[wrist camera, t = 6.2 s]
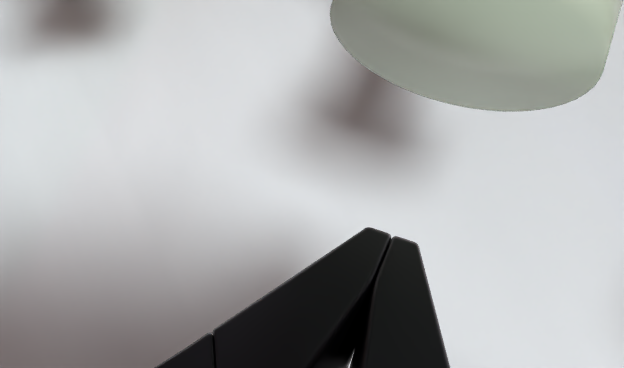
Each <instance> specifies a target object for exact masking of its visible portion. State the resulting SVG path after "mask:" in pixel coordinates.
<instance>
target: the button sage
mask: <svg viewBox="0 0 624 368" xmlns="http://www.w3.org/2000/svg"><path fill="white" fill-rule="evenodd" d="M622 2H623V0H333V2H332V4H331V9H330V20H331V25H332V28H333V30H334V33H335V35H336V36H337V38H338V40H339V41H340V43H341V44H342V45H343V47H344V48H345V49H346V50H347V51H348V52H349V53H350V54H351V55H352V56H353V57H354V58H355V59H356V60H357V61H358V62H360V63H361V64H362V65H363V66H365V67H366V68H368V69H369V70H370V71H372V72H373V73H375V74H377V75H378V76H380V77H382V78H383V79H385V80H387V81H389V82H391V83H393V84H395V85H397V86H399V87H401V88H403V89H406V90H408V91H411V92H413V93H416V94H418V95H421V96H424V97H427V98H430V99H433V100H437V101H440V102H444V103H448V104H452V105H457V106H462V107H467V108H473V109H481V110H491V111H512V112H513V111H531V110H540V109H546V108H551V107H555V106H559V105H562V104H566V103H568V102H570V101H573V100H575V99H577V98H579V97H581V96H582V95H584V94H586V93H587V92H588V91H589V90H591V89H592V88H593V87H594V86H595V85H596V83H597V82H598V81H599V79H600V77H601V75H602V72H603V70H604V66H605V63H606V59H607V56H608V52H609V49H610V45H611V41H612V38H613V34H614V31H615V27H616V24H617V20H618V16H619V13H620V9H621V6H622Z"/></svg>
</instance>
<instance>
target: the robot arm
mask: <svg viewBox="0 0 624 368" xmlns="http://www.w3.org/2000/svg"><path fill="white" fill-rule="evenodd" d="M353 353H354V354H353ZM352 356H353V358H352ZM351 358H352V361H351ZM350 361H351V365H350V368H450V366H449V362H448V358H447V354H446V350H445V346H444V342H443V338H442V335H441V331H440V327H439V323H438V319H437V315H436V311H435V307H434V304H433V300H432V296H431V292H430V288H429V284H428V280H427V277H426V273H425V269H424V265H423V261H422V257H421V253H420V249H419V246H418V244H417V243H415V242H413V241H410V240H407V239H404V238H401V237H398V236H395V237H393V238H392V239H391V235H390V234H388V233H386V232H383V231H380V230H377V229H374V228H370V227H368V228H365V229H364V230H362V231H361V232H359V233H358V234H356V235H355V236H353V237H352V238H350V239H349V240H347V241H346V242H344V243H343V244H341V245H340V246H338V247H337V248H335V249H334V250H332V251H331V252H329V253H328V254H326V255H325V256H323V257H322V258H320V259H319V260H317V261H316V262H314V263H313V264H311V265H310V266H308V267H307V268H305V269H304V270H302V271H301V272H299V273H298V274H296V275H295V276H293V277H292V278H290V279H289V280H287V281H286V282H284V283H283V284H281V285H280V286H278V287H277V288H275V289H274V290H272V291H271V292H269V293H268V294H266V295H265V296H263V297H262V298H260V299H259V300H257V301H256V302H254V303H253V304H251V305H250V306H248V307H247V308H245V309H244V310H242V311H241V312H239V313H238V314H236V315H235V316H233V317H232V318H230V319H229V320H227V321H226V322H225V323H223V324H222V325H220V326H219V327H217V328H216V329H214V330H213V335H212V334H211V333H208V334H206V335H205V336H203V337H202V338H200V339H199V340H197V341H196V342H194V343H193V344H191V345H190V346H188V347H187V348H185V349H184V350H182V351H180V352H179V353H177V354H176V355H174V356H172V357H171V358H169V359H168V360H166V361H165V362H163V363H161V364H160V365H158V366H157V367H155V368H348V366H349V364H350Z"/></svg>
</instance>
